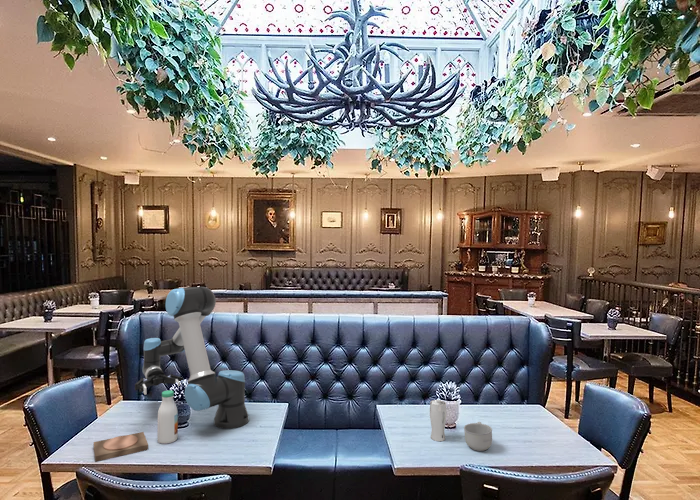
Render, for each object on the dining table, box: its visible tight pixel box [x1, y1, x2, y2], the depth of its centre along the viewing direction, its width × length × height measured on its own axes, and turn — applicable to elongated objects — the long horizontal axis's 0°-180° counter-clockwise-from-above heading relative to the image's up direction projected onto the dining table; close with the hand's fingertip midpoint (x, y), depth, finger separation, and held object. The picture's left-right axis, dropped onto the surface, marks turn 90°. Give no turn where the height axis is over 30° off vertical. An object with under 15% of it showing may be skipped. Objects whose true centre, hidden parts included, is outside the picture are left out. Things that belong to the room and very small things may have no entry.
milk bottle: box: [156, 389, 179, 445], centre depth 176 cm, size 8×8×20 cm
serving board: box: [93, 431, 149, 463], centre depth 169 cm, size 18×14×3 cm
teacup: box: [463, 421, 493, 452], centre depth 173 cm, size 14×11×8 cm
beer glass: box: [429, 399, 448, 442], centre depth 179 cm, size 7×7×15 cm
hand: (162, 388), depth 185 cm, fingers open, 13 cm apart
